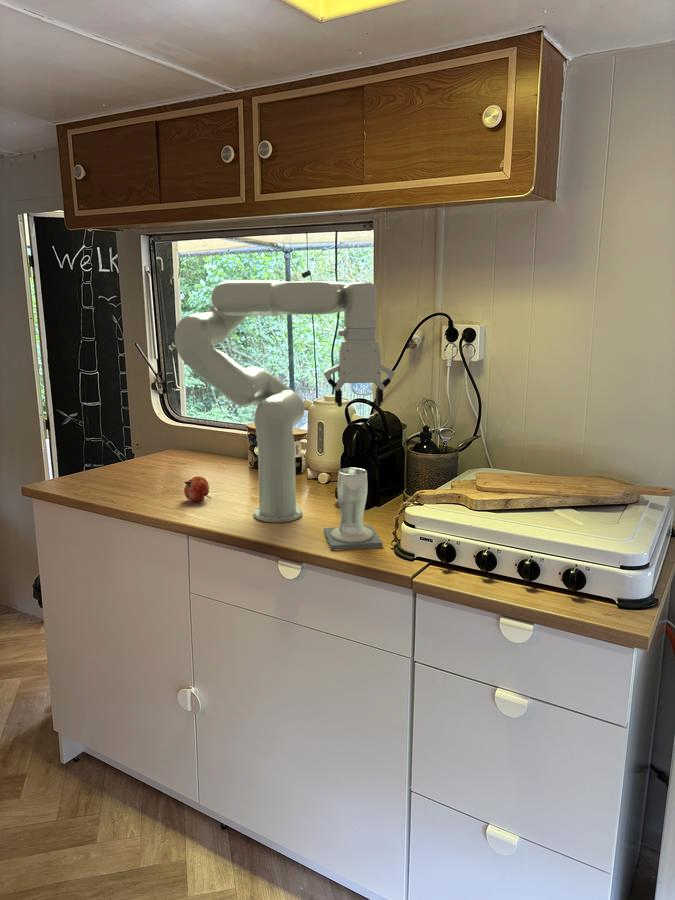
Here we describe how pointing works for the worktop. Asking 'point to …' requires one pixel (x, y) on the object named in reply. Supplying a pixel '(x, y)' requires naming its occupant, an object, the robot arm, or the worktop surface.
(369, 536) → the coaster board
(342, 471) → the beer glass
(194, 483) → the pomegranate
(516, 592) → the worktop surface
